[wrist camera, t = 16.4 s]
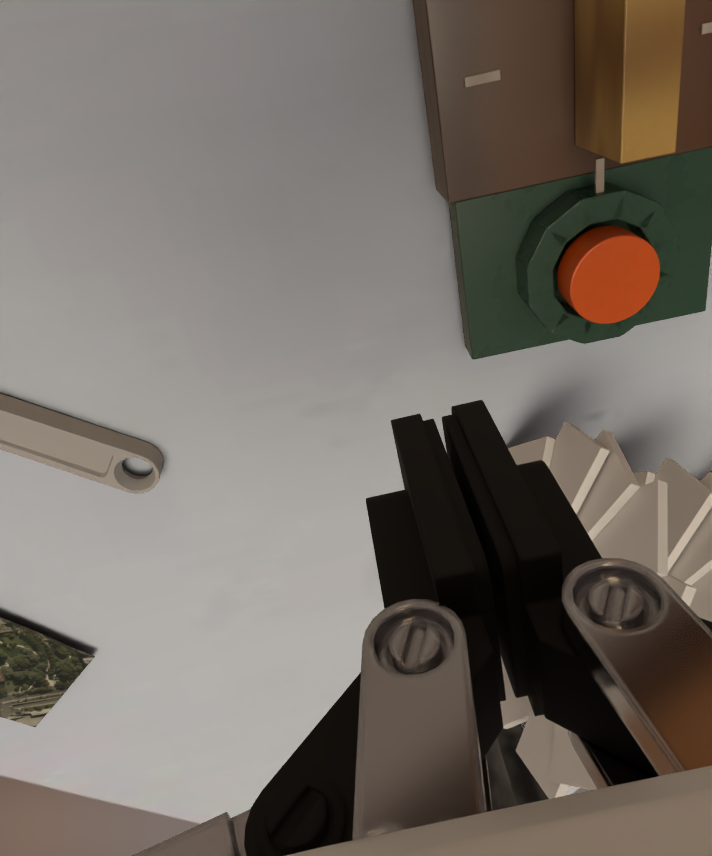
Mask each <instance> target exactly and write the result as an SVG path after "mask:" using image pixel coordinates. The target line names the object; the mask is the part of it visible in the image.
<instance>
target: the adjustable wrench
mask: <svg viewBox="0 0 712 856" xmlns="http://www.w3.org/2000/svg"><path fill="white" fill-rule="evenodd" d="M0 449H1V450H4V451H7V452H10V453H13V454H16V455H19V456H22V457H25V458H28V459H31V460H34V461H37V462H40V463H43V464H46V465H49V466H52V467H55V468H58V469H61V470H64V471H67V472H70V473H73V474H76V475H79V476H82V477H85V478H88V479H90V480H93V481H96V482H99V483H102V484H105V485H108V486H111V487H114V488H117V489H120V490H123V491H126V492H130V493H144V492H147V491H150V490H151V489H153V488H154V487H155V486H156V484H157V483H158V481H159V477H160V474H161V470H162V466H163V457H162V455H161V453H160V451H159V450H158V449H157V448H156V447H154V446H153V445H151V444H149V443H147V442H144V441H141V440H138V439H135V438H132V437H129V436H126V435H123V434H120V433H117V432H114V431H111V430H108V429H105V428H102V427H99V426H96V425H93V424H90V423H87V422H84V421H81V420H78V419H75V418H72V417H69V416H66V415H63V414H60V413H57V412H54V411H51V410H48V409H45V408H42V407H39V406H36V405H33V404H30V403H27V402H24V401H21V400H18V399H15V398H12V397H9V396H6V395H3V394H0ZM126 458H139V459H142V460H144V461H146V462H148V463H149V464H150V465H151V466H152V468H153V469H152V473H151V474H150V475H147V476H137V475H133V474H131V473H129V472H127V471H126V470H125V469H124V468H123V467H122V462H123V461H124V459H126Z"/></svg>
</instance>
